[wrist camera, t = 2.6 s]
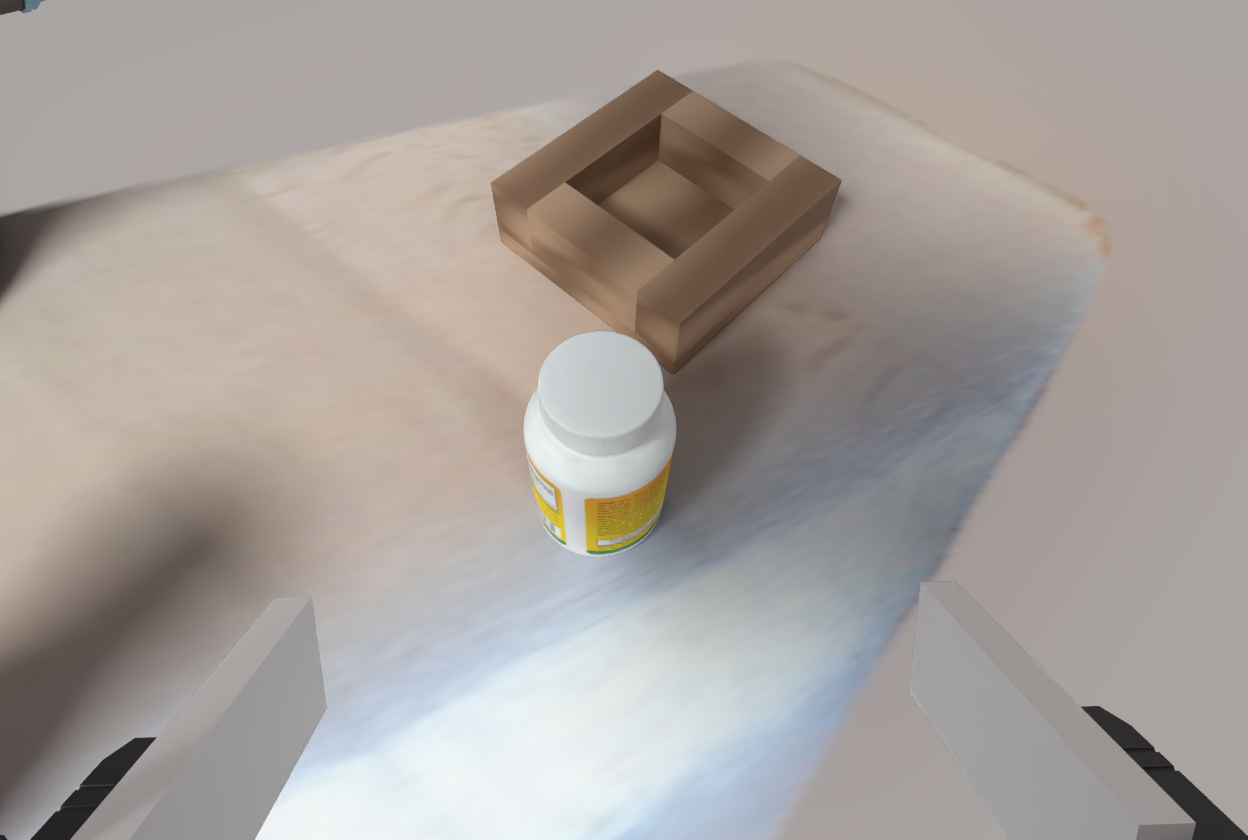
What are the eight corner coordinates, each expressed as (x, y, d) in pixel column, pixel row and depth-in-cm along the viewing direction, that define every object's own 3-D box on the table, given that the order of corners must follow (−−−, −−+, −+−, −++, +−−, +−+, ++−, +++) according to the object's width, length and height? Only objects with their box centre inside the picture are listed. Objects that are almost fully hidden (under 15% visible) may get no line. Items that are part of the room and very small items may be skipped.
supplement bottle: (516, 534, 30) (483, 421, 22) (566, 429, 33) (553, 292, 25) (638, 580, 30) (651, 481, 21) (679, 468, 32) (706, 341, 24)
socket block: (501, 241, 38) (490, 182, 35) (653, 131, 43) (657, 69, 39) (672, 374, 34) (680, 323, 31) (820, 238, 39) (841, 180, 35)
